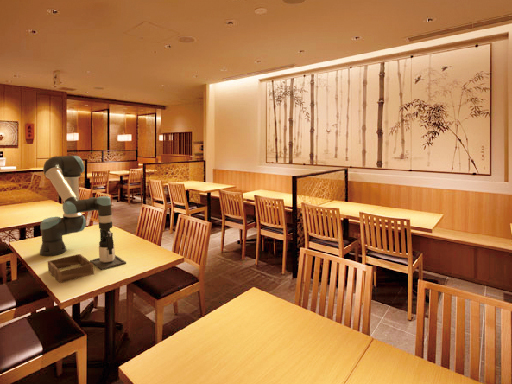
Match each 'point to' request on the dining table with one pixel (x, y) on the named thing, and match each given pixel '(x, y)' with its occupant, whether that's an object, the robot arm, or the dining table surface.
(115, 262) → the tray
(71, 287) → the dining table surface
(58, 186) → the robot arm
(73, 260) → the crate
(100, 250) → the jar
